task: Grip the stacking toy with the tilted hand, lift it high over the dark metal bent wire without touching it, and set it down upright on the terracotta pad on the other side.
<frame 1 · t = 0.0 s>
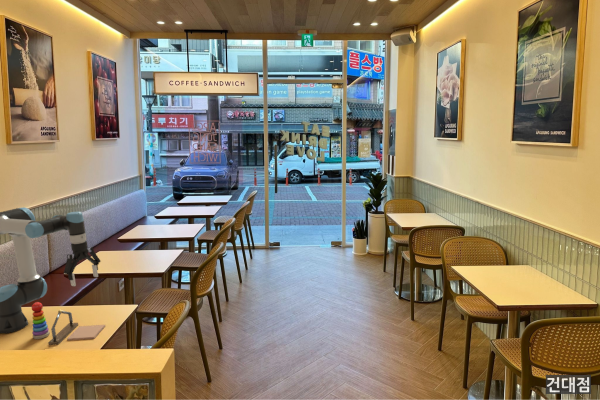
hand: (85, 281, 243), 28 cm above the table, tool pointing down, fingers open, 13 cm apart
terracotta pad: (86, 333, 246), on the table
stacking toy: (41, 336, 246), on the table
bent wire: (64, 334, 246), on the table
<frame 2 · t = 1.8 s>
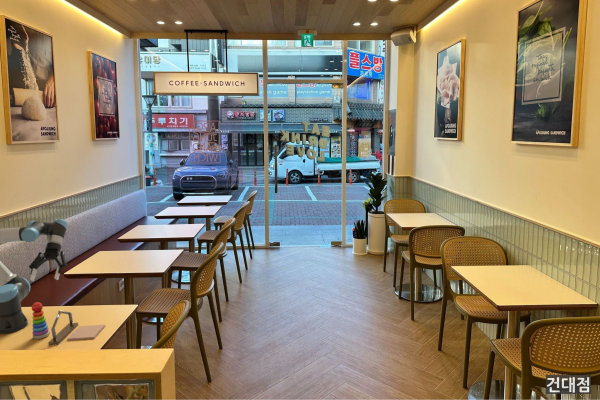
hand: (44, 279, 251), 28 cm above the table, tool tilted 45°, fingers open, 13 cm apart
nothing on the table moved.
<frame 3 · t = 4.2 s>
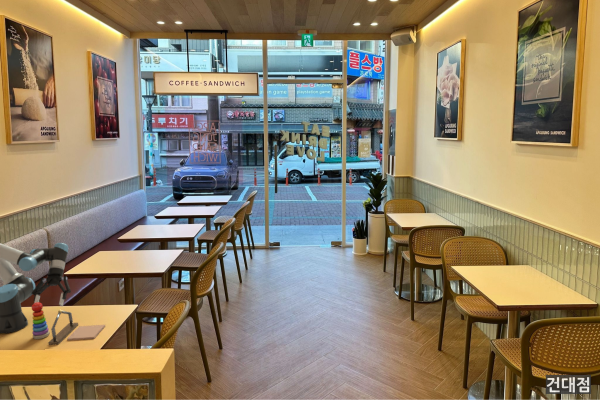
hand: (48, 306, 250), 14 cm above the table, tool tilted 45°, fingers open, 13 cm apart
nothing on the table moved.
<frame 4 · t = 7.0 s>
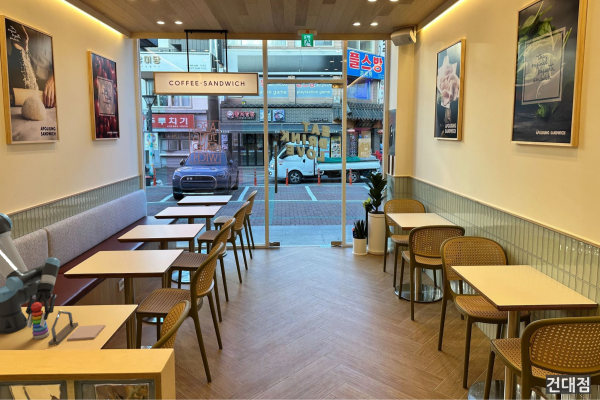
hand: (35, 326, 241), 7 cm above the table, tool tilted 45°, fingers closed on stacking toy, 6 cm apart
stacking toy: (41, 336, 246), on the table, touching gripper
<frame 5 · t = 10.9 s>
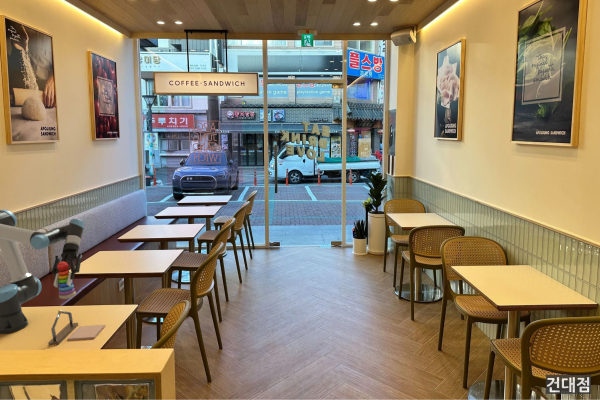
hand: (62, 285, 236), 29 cm above the table, tool tilted 45°, fingers closed on stacking toy, 6 cm apart
stacking toy: (68, 296, 241), point 21 cm above the table, touching gripper
when the fingers open (10 cm above the table, at t = 15.0 s): stacking toy drops 1 cm, resting on terracotta pad.
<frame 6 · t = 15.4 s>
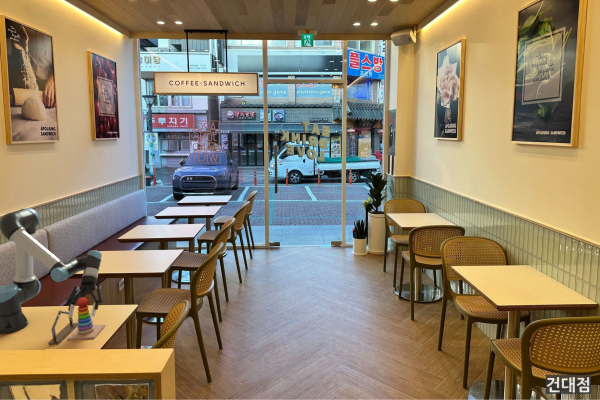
hand: (81, 316, 241), 11 cm above the table, tool tilted 45°, fingers open, 11 cm apart
stacking toy: (86, 331, 246), point 1 cm above the table, touching terracotta pad
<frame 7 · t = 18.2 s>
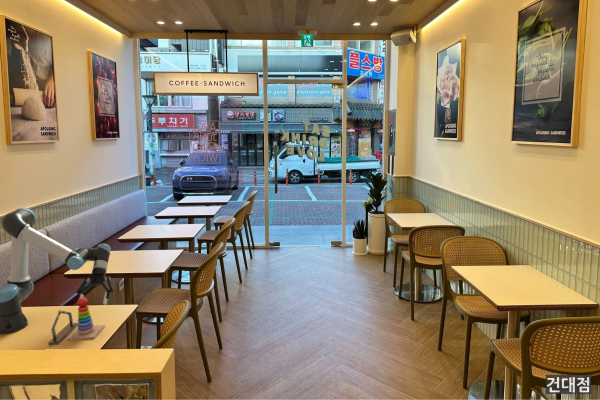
hand: (92, 305, 254), 11 cm above the table, tool tilted 45°, fingers open, 13 cm apart
nothing on the table moved.
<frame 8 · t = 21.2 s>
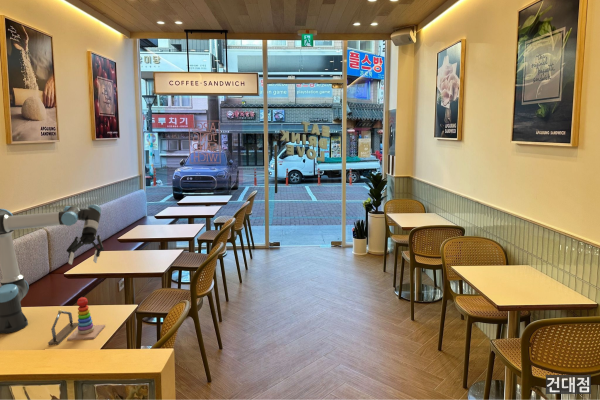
hand: (82, 262, 256), 34 cm above the table, tool tilted 45°, fingers open, 13 cm apart
nothing on the table moved.
at the end: stacking toy inside the target area on the terracotta pad (0.2 cm from its centre), point 0.8 cm above the terracotta pad's base; stacking toy tilted 0°; stacking toy touching terracotta pad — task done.
